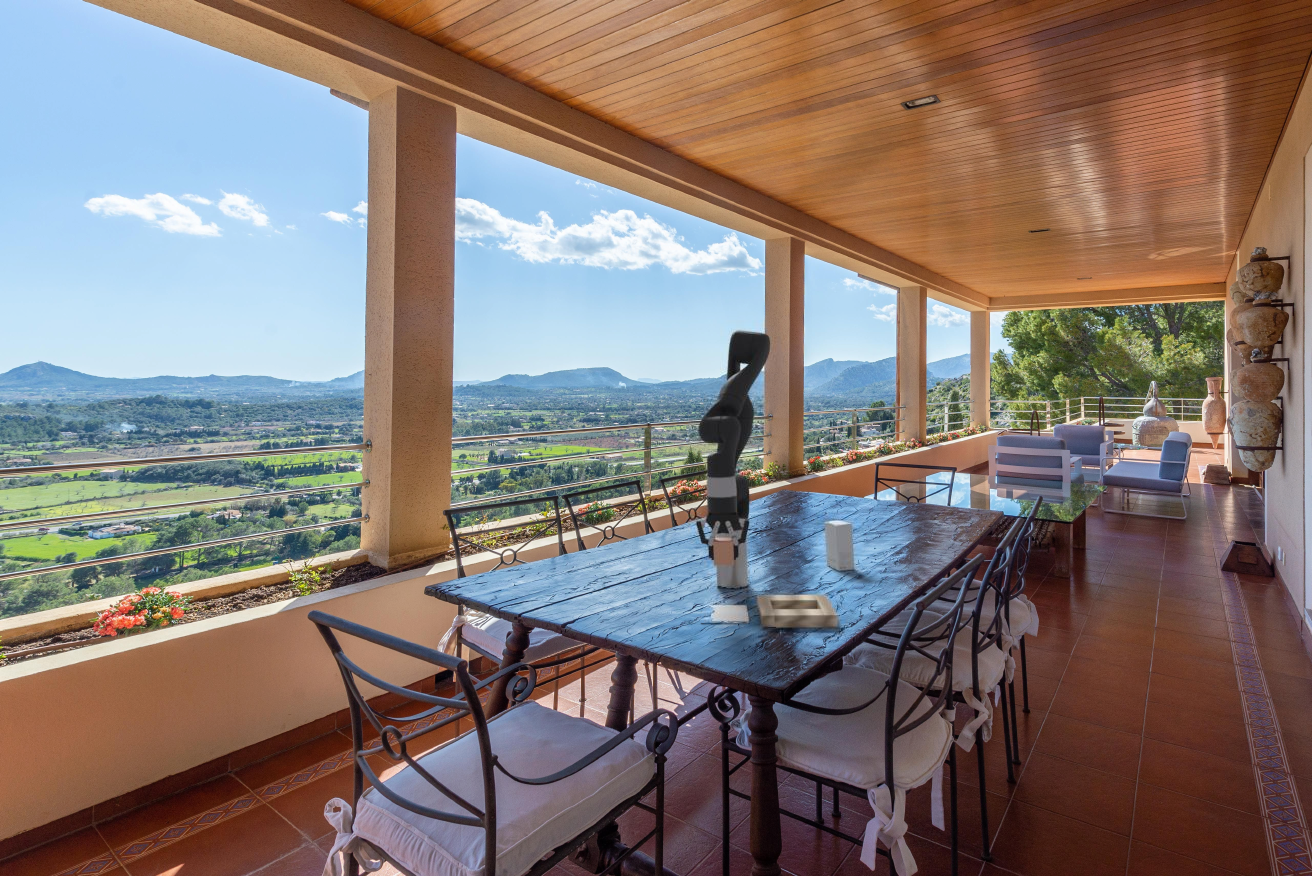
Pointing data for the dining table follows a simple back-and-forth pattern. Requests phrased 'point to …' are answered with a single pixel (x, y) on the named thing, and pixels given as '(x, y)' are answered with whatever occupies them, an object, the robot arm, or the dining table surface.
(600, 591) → the dining table surface
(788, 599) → the pocket plate
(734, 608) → the mat
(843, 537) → the skincare box
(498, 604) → the dining table surface
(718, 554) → the block
